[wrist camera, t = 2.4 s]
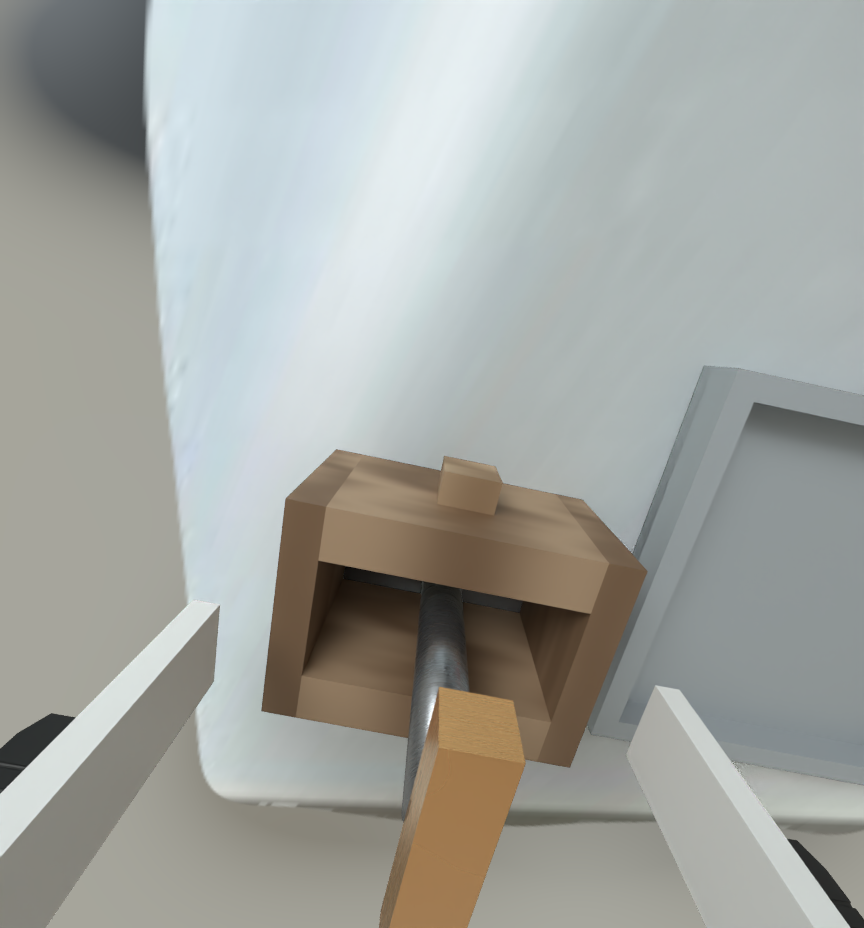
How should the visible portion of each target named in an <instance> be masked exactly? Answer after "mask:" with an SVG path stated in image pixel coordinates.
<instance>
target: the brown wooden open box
mask: <svg viewBox="0 0 864 928" xmlns="http://www.w3.org/2000/svg"><path fill="white" fill-rule="evenodd" d="M345 566H349V567H354V568H359V569H364V570H369V571H374V572H379V573H384V574H389V575H395V576H400V577H405V578H410V579H415V580H420V581H425V582H430V583H435V584H441V585H446V586H451V587H456V588H461V589H466V590H471V591H476V592H481V593H486V594H492V595H497V596H502V597H507V598H512V599H517V600H522V601H523V603H522V607H521V610H520V613H517V612H512V611H507V610H502V609H497V608H491V607H486V606H481V605H476V604H471V603H466V602H463V613H464V626H465V639H466V651H467V664H468V677H469V690H470V693H476V694H481V695H486V696H492V697H497V698H502V699H508V700H513V702H514V707H515V713H516V718H517V723H518V728H519V733H520V738H521V743H522V748H523V753H524V758H525V760H531V761H536V762H542V763H547V764H553V765H558V766H563V767H569V768H570V766H571V763H572V761H573V758H574V756H575V753H576V751H577V748H578V746H579V743H580V741H581V738H582V735H583V733H584V730H585V728H586V725H587V723H588V720H589V718H590V715H591V713H592V710H593V708H594V705H595V703H596V700H597V698H598V695H599V693H600V690H601V688H602V685H603V683H604V680H605V678H606V675H607V673H608V670H609V668H610V665H611V662H612V660H613V657H614V655H615V652H616V650H617V647H618V645H619V642H620V640H621V637H622V635H623V632H624V630H625V627H626V625H627V622H628V620H629V617H630V615H631V612H632V610H633V607H634V605H635V602H636V600H637V597H638V595H639V592H640V589H641V587H642V584H643V582H644V579H645V577H646V574H647V572H648V571H647V570H646V569H645V568H644V567H643V565H642V564H641V563H640V562H639V561H638V560H637V559H636V558H635V557H634V556H633V554H632V553H631V552H630V551H629V550H628V549H627V548H626V547H625V546H624V545H623V544H622V542H621V541H620V540H619V539H618V538H617V537H616V536H615V535H614V534H613V533H612V531H611V530H610V529H609V528H608V527H607V526H606V525H605V524H604V523H603V522H602V521H601V519H600V518H599V517H598V516H597V515H596V514H595V513H594V512H593V511H592V510H591V508H590V507H589V506H588V505H587V504H586V503H585V502H584V501H583V500H581V499H576V498H571V497H566V496H561V495H557V494H552V493H547V492H542V491H537V490H532V489H527V488H522V487H518V486H513V485H508V484H503V483H502V480H501V478H500V476H499V474H498V471H497V469H496V467H495V466H491V465H486V464H481V463H476V462H471V461H466V460H462V459H457V458H452V457H447V456H444V460H443V464H442V469H441V471H439V470H435V469H430V468H425V467H420V466H415V465H410V464H405V463H400V462H396V461H391V460H386V459H381V458H376V457H371V456H366V455H361V454H356V453H352V452H347V451H342V450H337V449H336V450H335V451H334V452H333V453H332V454H331V455H330V456H329V457H328V458H327V459H326V460H325V461H324V462H323V463H322V464H321V465H320V466H319V467H318V468H317V469H316V470H315V471H314V472H313V473H312V474H311V475H310V476H309V477H308V478H306V479H305V480H304V481H303V482H302V483H301V484H300V485H299V486H298V487H297V488H296V489H295V490H294V491H293V492H292V493H291V494H290V495H289V496H288V497H287V498H286V500H285V508H284V517H283V526H282V535H281V544H280V552H279V561H278V570H277V579H276V587H275V596H274V605H273V614H272V622H271V631H270V640H269V649H268V657H267V666H266V675H265V684H264V693H263V701H262V710H261V711H264V712H269V713H274V714H280V715H285V716H291V717H296V718H302V719H307V720H313V721H318V722H324V723H329V724H334V725H340V726H345V727H351V728H356V729H362V730H367V731H373V732H378V733H384V734H389V735H394V736H400V737H405V738H408V735H409V724H410V713H411V701H412V690H413V679H414V667H415V656H416V645H417V633H418V622H419V611H420V599H421V594H420V593H415V592H409V591H404V590H399V589H394V588H389V587H384V586H379V585H373V584H368V583H363V582H358V581H353V580H348V579H343V578H344V572H345Z"/></svg>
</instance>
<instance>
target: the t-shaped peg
mask: <svg viewBox="0 0 864 928" xmlns="http://www.w3.org/2000/svg"><path fill="white" fill-rule="evenodd" d="M525 764H526V763H525V758H524V753H523V748H522V743H521V738H520V733H519V728H518V723H517V718H516V713H515V707H514V702H513V700H508V699H502V698H497V697H492V696H486V695H481V694H476V693H470V690H469V677H468V664H467V651H466V639H465V626H464V613H463V600H462V589H461V588H456V587H451V586H446V585H441V584H435V583H430V582H425V581H422V588H421V599H420V611H419V622H418V633H417V645H416V656H415V667H414V679H413V690H412V701H411V713H410V724H409V735H408V747H407V758H406V769H405V781H404V792H403V803H402V820H403V823H404V824H403V827H402V832H401V835H400V839H399V843H398V847H397V851H396V855H395V858H394V862H393V866H392V870H391V873H390V877H389V881H388V885H387V889H386V893H385V897H384V901H383V905H382V909H381V914H380V924H379V928H467V927H468V924H469V921H470V918H471V916H472V913H473V910H474V907H475V904H476V901H477V899H478V896H479V893H480V890H481V888H482V885H483V882H484V879H485V876H486V873H487V871H488V867H489V865H490V862H491V859H492V856H493V854H494V851H495V848H496V845H497V843H498V840H499V837H500V834H501V831H502V829H503V826H504V823H505V820H506V817H507V815H508V812H509V809H510V806H511V803H512V801H513V798H514V795H515V792H516V789H517V786H518V784H519V781H520V778H521V775H522V772H523V770H524V767H525Z"/></svg>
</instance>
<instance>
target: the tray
mask: <svg viewBox="0 0 864 928" xmlns="http://www.w3.org/2000/svg"><path fill="white" fill-rule="evenodd" d="M633 556H634V557H635V558H636V559H637V560H638V561H639V562H640V563H641V564H642V565H643V567H644V568H645V569H646V570H647V571H648V572H647V574H646V577H645V579H644V582H643V584H642V587H641V589H640V592H639V595H638V597H637V600H636V602H635V605H634V607H633V610H632V612H631V615H630V617H629V620H628V622H627V625H626V627H625V630H624V632H623V635H622V637H621V640H620V642H619V645H618V647H617V650H616V652H615V655H614V657H613V660H612V662H611V665H610V668H609V670H608V673H607V675H606V678H605V680H604V683H603V685H602V688H601V690H600V693H599V695H598V698H597V700H596V703H595V705H594V708H593V710H592V713H591V715H590V718H589V720H588V723H587V726H588V728H589V731H590V733H591V735H597V736H602V737H607V738H613V739H618V740H623V741H629V742H631V741H632V739H633V737H634V734H635V732H636V730H637V727H638V725H639V722H640V720H641V718H642V715H643V713H644V711H645V708H646V706H647V704H648V701H649V699H650V696H651V694H652V692H653V689H654V687H655V685H657V686H662V687H668V688H673V689H678V690H680V691H681V692H682V694H683V695H684V697H685V698H686V699H687V701H688V702H689V704H690V705H691V706H692V708H693V709H694V711H695V712H696V713H697V715H698V716H699V717H700V719H701V720H702V722H703V723H704V724H705V726H706V727H707V729H708V730H709V731H710V733H711V734H712V736H713V737H714V738H715V740H716V741H717V743H718V744H719V745H720V747H721V748H722V750H723V751H724V752H725V754H726V755H727V756H728V758H729V759H730V760H731V761H736V762H741V763H747V764H752V765H758V766H763V767H768V768H774V769H779V770H784V771H790V772H795V773H801V774H806V775H811V776H817V777H822V778H827V779H833V780H838V781H843V782H849V783H854V784H860V785H864V395H859V394H854V393H850V392H845V391H841V390H836V389H831V388H827V387H822V386H818V385H813V384H809V383H804V382H799V381H795V380H790V379H786V378H781V377H776V376H772V375H767V374H763V373H758V372H753V371H749V370H744V369H740V368H728V367H714V366H704V368H703V371H702V373H701V376H700V378H699V381H698V384H697V386H696V389H695V392H694V394H693V397H692V399H691V402H690V405H689V407H688V410H687V413H686V415H685V418H684V420H683V423H682V426H681V428H680V431H679V434H678V436H677V439H676V441H675V444H674V447H673V449H672V452H671V455H670V457H669V460H668V462H667V465H666V468H665V470H664V473H663V476H662V478H661V481H660V483H659V486H658V489H657V491H656V494H655V497H654V499H653V502H652V504H651V507H650V510H649V512H648V515H647V518H646V520H645V523H644V525H643V528H642V531H641V533H640V536H639V539H638V541H637V544H636V547H635V549H634V552H633Z"/></svg>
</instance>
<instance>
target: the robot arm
mask: <svg viewBox="0 0 864 928" xmlns="http://www.w3.org/2000/svg"><path fill="white" fill-rule="evenodd" d="M219 610H220V604H215V603H210V602H204V601H199V600H192V601H191V602H190V603H189V604H188V605H187V606H186V607H185V609H183V610H182V611H181V612H180V613H179V614H178V615H177V617H176V618H174V619H173V620H172V621H171V622H170V624H169V625H168V626H167V627H166V628H165V629H164V630H163V631H162V632H161V633H160V634H159V635H158V636H157V637H156V638H155V639H154V640H153V641H152V642H151V643H150V644H149V645H148V646H147V647H146V648H145V649H144V650H143V651H142V652H141V653H140V654H139V655H138V656H137V657H136V658H135V659H134V660H133V661H132V662H131V663H130V664H129V665H128V666H127V667H126V668H125V669H124V670H123V671H122V672H121V673H120V674H119V675H118V676H117V677H116V678H115V679H114V680H113V681H112V682H111V683H110V684H109V685H108V686H107V687H106V688H105V689H104V690H103V691H102V692H101V693H100V694H99V695H98V696H97V697H96V698H95V699H94V700H93V701H92V702H91V703H90V704H89V705H88V706H87V707H86V708H85V709H84V710H83V711H82V712H81V713H80V714H79V715H78V716H77V717H76V718H75V717H69V716H64V715H58V714H52V713H51V714H49V715H48V716H46V717H45V718H43V719H41V720H39V721H38V722H36V723H34V724H32V725H31V726H29V727H27V728H26V729H24V730H22V731H20V732H19V733H17V734H16V735H15V736H14V737H13V738H12V739H11V740H9V741H8V742H7V743H6V744H5V745H4V746H3V747H2V748H1V749H0V928H46V926H47V925H48V923H49V922H50V920H51V919H52V918H53V916H54V915H55V913H56V912H57V910H58V909H59V907H60V906H61V904H62V903H63V901H64V900H65V898H66V897H67V896H68V894H69V893H70V891H71V890H72V888H73V887H74V885H75V884H76V882H77V881H78V879H79V878H80V876H81V875H82V874H83V872H84V871H85V869H86V868H87V866H88V865H89V863H90V862H91V860H92V859H93V858H94V856H95V855H96V853H97V852H98V850H99V849H100V847H101V846H102V844H103V843H104V841H105V840H106V838H107V837H108V836H109V834H110V833H111V831H112V829H113V828H114V827H115V825H116V824H117V822H118V821H119V819H120V818H121V816H122V815H123V814H124V812H125V811H126V809H127V808H128V806H129V805H130V803H131V802H132V800H133V799H134V797H135V796H136V795H137V793H138V791H139V790H140V789H141V787H142V786H143V784H144V783H145V781H146V780H147V778H148V777H149V775H150V774H151V773H152V771H153V770H154V768H155V767H156V765H157V764H158V762H159V761H160V759H161V758H162V757H163V755H164V754H165V752H166V751H167V749H168V747H169V746H170V745H171V743H172V742H173V740H174V739H175V737H176V736H177V735H178V733H179V732H180V730H181V729H182V727H183V726H184V724H185V723H186V721H187V720H188V718H189V717H190V715H191V714H192V713H193V711H194V710H195V708H196V707H197V705H198V704H199V702H200V701H201V699H202V698H203V696H204V695H205V694H206V692H207V691H208V689H209V688H210V686H211V685H212V683H213V682H214V671H215V659H216V647H217V634H218V622H219ZM626 757H627V759H628V761H629V763H630V765H631V767H632V770H633V772H634V774H635V776H636V778H637V780H638V782H639V785H640V787H641V789H642V791H643V793H644V795H645V797H646V800H647V802H648V804H649V806H650V808H651V810H652V812H653V815H654V817H655V819H656V821H657V823H658V825H659V827H660V830H661V832H662V834H663V836H664V838H665V840H666V842H667V844H668V847H669V848H670V851H671V853H672V855H673V857H674V859H675V862H676V864H677V866H678V868H679V870H680V872H681V874H682V877H683V879H684V880H685V883H686V885H687V887H688V889H689V892H690V894H691V896H692V898H693V900H694V902H695V904H696V907H697V909H698V911H699V913H700V915H701V917H702V919H703V922H704V924H705V926H706V928H864V919H863V918H862V916H861V915H860V914H859V912H858V911H857V910H856V909H855V908H852V906H851V904H850V903H851V902H850V901H849V899H848V898H847V896H846V895H845V894H844V892H843V891H842V890H841V889H840V887H839V886H838V884H837V883H836V882H835V881H834V879H833V878H832V877H831V875H830V874H829V873H828V871H827V870H826V869H825V868H824V867H823V866H822V865H821V864H820V863H819V862H818V861H817V860H816V859H815V858H814V857H813V856H812V855H811V854H810V853H809V852H808V851H807V850H806V849H805V848H804V847H803V846H802V845H801V844H800V843H799V842H798V841H797V840H791V839H786V837H785V836H784V834H783V833H782V832H781V830H780V829H779V828H778V826H777V825H776V823H775V822H774V821H773V819H772V818H771V816H770V815H769V814H768V812H767V811H766V809H765V808H764V807H763V805H762V804H761V802H760V801H759V800H758V798H757V797H756V795H755V794H754V793H753V791H752V790H751V789H750V787H749V786H748V784H747V783H746V782H745V780H744V779H743V777H742V776H741V775H740V773H739V772H738V770H737V769H736V768H735V766H734V765H733V763H732V762H731V761H730V759H729V758H728V756H727V755H726V754H725V752H724V751H723V750H722V748H721V747H720V745H719V744H718V743H717V741H716V740H715V738H714V737H713V736H712V734H711V733H710V731H709V730H708V729H707V727H706V726H705V724H704V723H703V722H702V720H701V719H700V717H699V716H698V715H697V713H696V712H695V711H694V709H693V708H692V706H691V705H690V704H689V702H688V701H687V699H686V698H685V697H684V695H683V694H682V692H681V691H680V690H678V689H673V688H668V687H662V686H657V685H655V687H654V689H653V692H652V694H651V696H650V699H649V701H648V704H647V706H646V708H645V711H644V713H643V715H642V718H641V720H640V722H639V725H638V727H637V730H636V732H635V734H634V737H633V739H632V741H631V744H630V746H629V748H628V751H627V753H626Z"/></svg>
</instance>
